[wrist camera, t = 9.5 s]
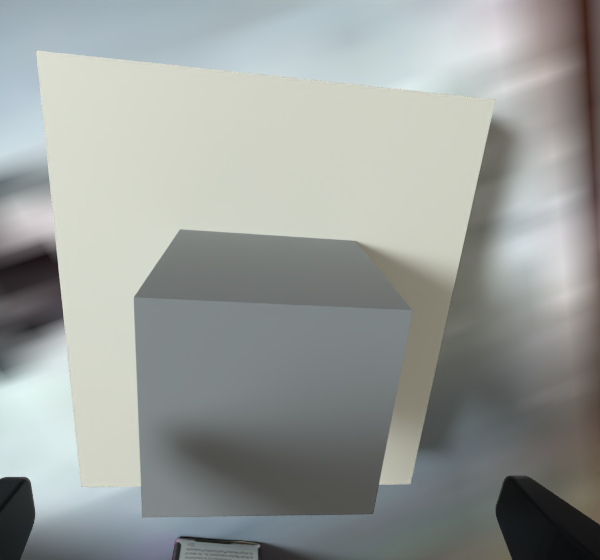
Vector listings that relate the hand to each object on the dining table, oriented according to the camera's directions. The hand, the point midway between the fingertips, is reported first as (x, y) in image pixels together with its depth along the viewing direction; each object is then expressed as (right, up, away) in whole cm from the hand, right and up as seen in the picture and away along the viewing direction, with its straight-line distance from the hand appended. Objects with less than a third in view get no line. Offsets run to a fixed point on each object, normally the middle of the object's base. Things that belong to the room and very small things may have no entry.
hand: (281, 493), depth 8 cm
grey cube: (-1, +3, +8) cm, 8 cm away
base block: (-1, +4, +11) cm, 11 cm away
